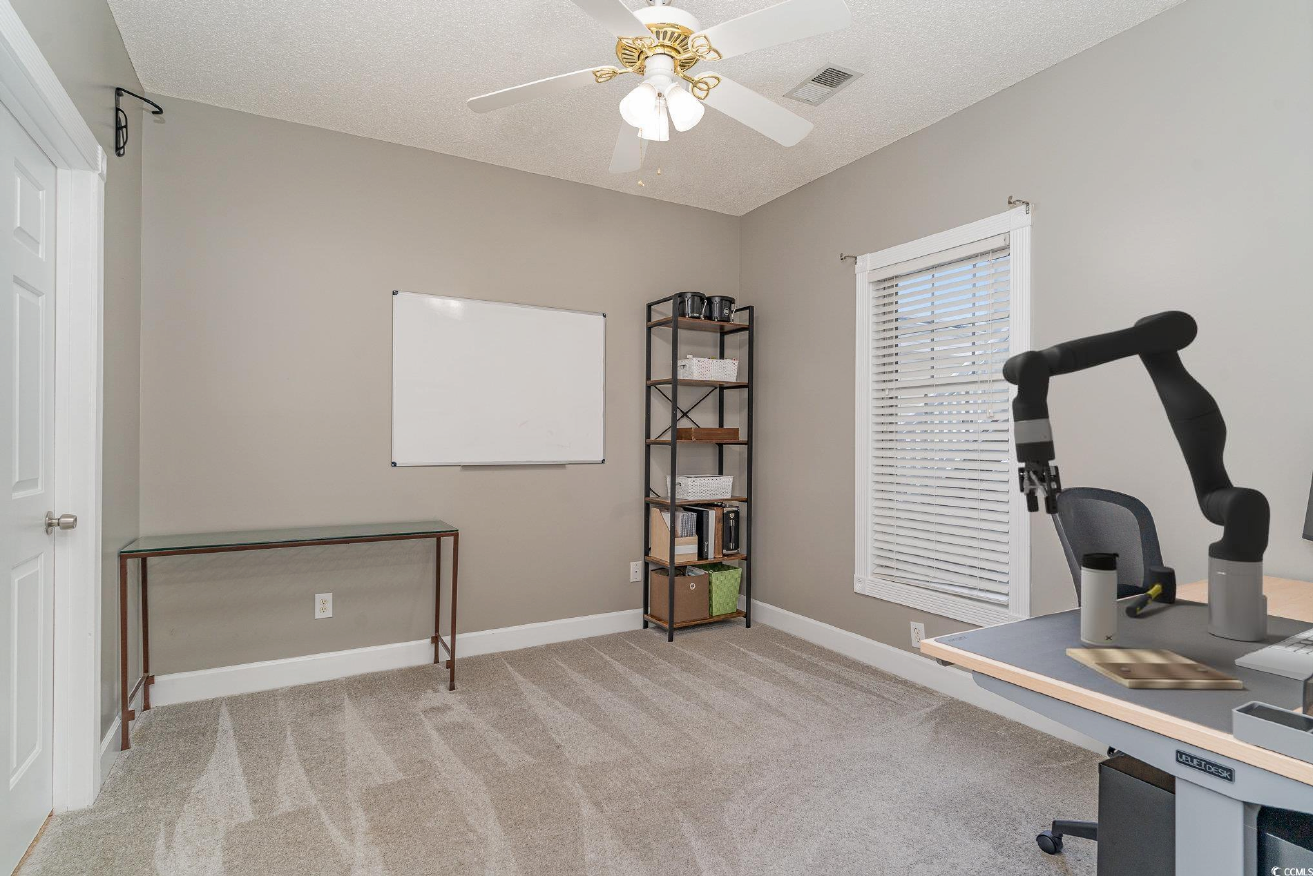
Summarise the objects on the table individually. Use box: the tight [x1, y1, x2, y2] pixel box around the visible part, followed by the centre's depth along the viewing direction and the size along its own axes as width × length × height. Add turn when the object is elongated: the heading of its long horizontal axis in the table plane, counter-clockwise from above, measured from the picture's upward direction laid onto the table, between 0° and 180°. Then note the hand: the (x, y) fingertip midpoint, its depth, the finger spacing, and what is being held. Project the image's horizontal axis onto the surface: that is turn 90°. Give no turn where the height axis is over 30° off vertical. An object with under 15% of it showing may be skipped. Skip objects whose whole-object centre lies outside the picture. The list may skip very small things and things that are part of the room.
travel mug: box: [1080, 552, 1120, 649], centre depth 140 cm, size 6×7×20 cm
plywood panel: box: [1065, 648, 1244, 690], centre depth 126 cm, size 20×18×2 cm
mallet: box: [1124, 565, 1177, 618], centre depth 173 cm, size 29×6×10 cm, turn 129°
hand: (1042, 512), depth 149 cm, fingers open, 8 cm apart
